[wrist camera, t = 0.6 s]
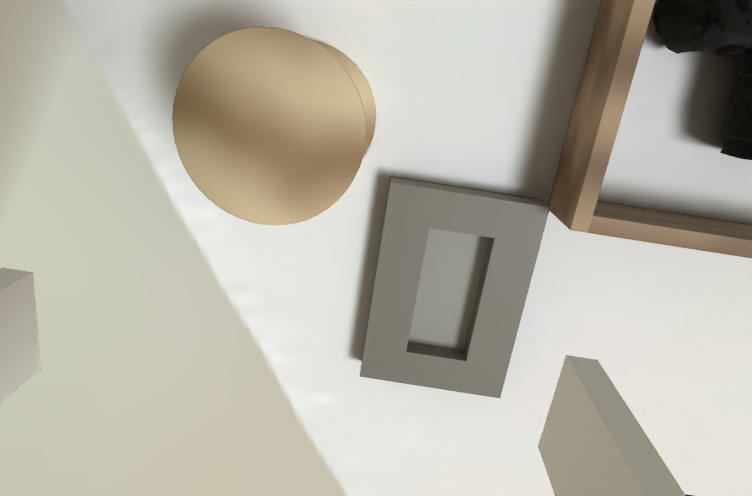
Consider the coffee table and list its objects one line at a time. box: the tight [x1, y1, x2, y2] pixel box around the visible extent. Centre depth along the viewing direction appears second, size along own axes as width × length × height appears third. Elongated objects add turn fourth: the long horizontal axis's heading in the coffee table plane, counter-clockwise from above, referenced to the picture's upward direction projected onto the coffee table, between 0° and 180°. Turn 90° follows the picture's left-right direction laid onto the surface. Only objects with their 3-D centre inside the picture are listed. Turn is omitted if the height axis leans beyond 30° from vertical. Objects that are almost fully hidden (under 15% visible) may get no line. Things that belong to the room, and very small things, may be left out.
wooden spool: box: [172, 27, 376, 225], centre depth 29 cm, size 9×9×10 cm
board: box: [360, 177, 550, 398], centre depth 36 cm, size 14×10×2 cm
